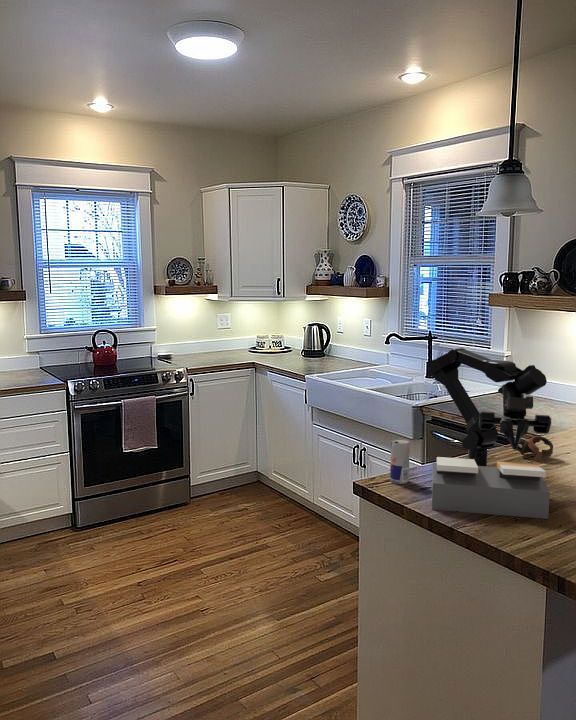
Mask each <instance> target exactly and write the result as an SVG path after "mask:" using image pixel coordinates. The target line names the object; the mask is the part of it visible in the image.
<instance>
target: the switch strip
mask: <svg viewBox="0 0 576 720" xmlns="http://www.w3.org/2000/svg"><path fill="white" fill-rule="evenodd" d="M431 475H432V478H431V480H432V481H431V510H433V511H446V512H456V511H458V513H471V514H481V515H482V514H483V515H495V516H497V515H498V516H508V517H518V518H519V517H522V518H530V519H534V518H535V519H545V520H549V509H550V496H551V495H550V494H551V491H550V488H549V487H548V485H547V483H546V482H545V479H544V477H535V476H520V475H505V474H502V472H501V471H500V470H499V469H498V468H497V466H489V467H487V466H478V473H466V472H451V471H437V462H432V474H431Z"/></svg>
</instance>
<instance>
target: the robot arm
mask: <svg viewBox="0 0 576 720" xmlns="http://www.w3.org/2000/svg"><path fill="white" fill-rule="evenodd" d="M462 365H464V366H466V367H470V368H472V369H474V370H477V371H478V372H479V371H480V372H482V373H484V375H485V376H486V378H487V379H489V380H491V381H492V382H495V383H503V382H504V383H505V382H506V383H505V384H502V385H501V387H499V388H498V390H497V393H499V394H501V395H502V416H499V417H496V415H495V412H494V411H481V412H479V410H478V408H477V407H476V405H475V404H474V402H473V400H472V399H471V397H470V395H469V394H468V392H467V390H466V388H465V387H464V385H463V384H462V383H461V381H460V379H459V368H460V367H461V366H462ZM428 370H429V373H430V375H431V376H432V378H433V379H434V380H435V381H436V382H437V383H439V384H441V385H442V386H444V387H445V389H446V391H447V393H448V394H449V396H450V398H451V399H452V401H453V403H454V405H455V406H456V408H457V409H458V411H459V413H460V415H461V416H462V418H463V420H464V421H465V423H466V426H465V427H466V430H465V431H466V434H467V436H465V437H464V439H462V440H461V445H462V448H463V449H466V450H467V451H468V452H467V459H474V460H475V462H476V464H477V466H487V467H490V466H489V465H488V452H489V451H488V449H490V448H492V449H493V448H494V446H495V444H496V442H497V440H498V435H499V433H500V434H503V435H504V436H505V437H506V439H507V441H508V442H509V444H510V446H511V448H512V450H514V451H517V450H516V449H517V446H518V445H520V444H519V441H520V439H522V437H523V436H524V435H527V434H528V432H529V428H530V427H533V428H532V430H533V431H534V432H535V433H536V434H545V435H546V434H548V433H550V430H551V425H552V417H550V415H548V414H547V415H546V414H535V416H534V418H526V417H527V410H529V409H530V410H532V409H533V408H534V396H530V395H532V394H533V393H535V392H536V391H538V390H541V388H543V387H545V386H546V385H547V382H548V381H547V377H546V374H544V372H542V371H541V370H540V369H539V368H537V367H536V366H535V364H532V365H531V364H530V365H528V366H526V367H525V368H524V369H521V368H519V367H518V366H517V365H516V363H515V362H513V361H510V360H502V359H501V360H498V359H491V358H488V357H486V356H483V355H481V354H477V353H475V352H472V351H469V350H467V349H466V348H463V347H459V348H458V347H457V348H452V349H450V350H449V351H448V352H447V353H444V354H442V355H440V356H439V357H437V358H434V359H432V360H431V361H430V363H429V366H428ZM525 395H526V396H525ZM497 425H499V427H500V428H499V432H498V430H497V428H498V427H497ZM514 427H516V430H515V434H514Z"/></svg>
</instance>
